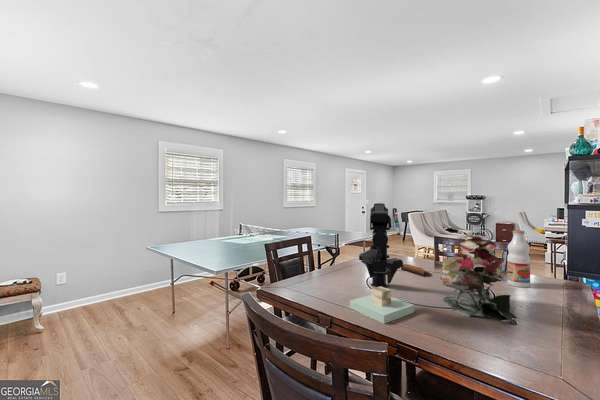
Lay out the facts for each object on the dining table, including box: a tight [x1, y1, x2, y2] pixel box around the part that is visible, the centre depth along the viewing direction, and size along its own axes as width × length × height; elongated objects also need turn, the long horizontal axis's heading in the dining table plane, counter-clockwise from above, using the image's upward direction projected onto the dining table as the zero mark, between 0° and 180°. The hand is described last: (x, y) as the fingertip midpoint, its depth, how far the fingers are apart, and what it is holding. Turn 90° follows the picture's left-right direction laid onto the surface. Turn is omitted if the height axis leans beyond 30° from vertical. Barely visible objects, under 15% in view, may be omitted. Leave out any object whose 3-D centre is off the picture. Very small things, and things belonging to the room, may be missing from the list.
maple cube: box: [370, 286, 392, 306], centre depth 117 cm, size 6×6×6 cm
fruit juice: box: [506, 229, 531, 289], centre depth 147 cm, size 9×9×28 cm
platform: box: [349, 294, 415, 324], centre depth 117 cm, size 18×18×3 cm
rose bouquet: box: [439, 235, 518, 326], centre depth 118 cm, size 26×29×30 cm
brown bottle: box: [400, 263, 433, 278], centre depth 173 cm, size 18×7×7 cm
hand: (380, 280), depth 118 cm, fingers open, 9 cm apart
